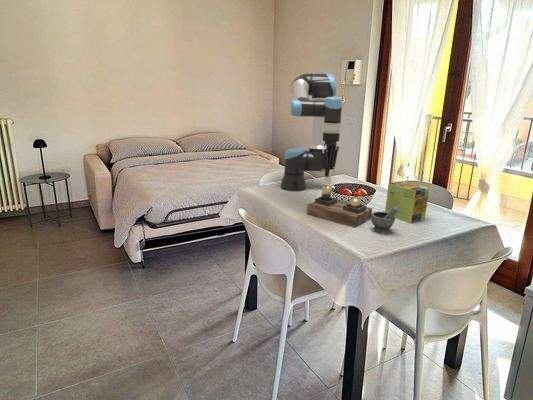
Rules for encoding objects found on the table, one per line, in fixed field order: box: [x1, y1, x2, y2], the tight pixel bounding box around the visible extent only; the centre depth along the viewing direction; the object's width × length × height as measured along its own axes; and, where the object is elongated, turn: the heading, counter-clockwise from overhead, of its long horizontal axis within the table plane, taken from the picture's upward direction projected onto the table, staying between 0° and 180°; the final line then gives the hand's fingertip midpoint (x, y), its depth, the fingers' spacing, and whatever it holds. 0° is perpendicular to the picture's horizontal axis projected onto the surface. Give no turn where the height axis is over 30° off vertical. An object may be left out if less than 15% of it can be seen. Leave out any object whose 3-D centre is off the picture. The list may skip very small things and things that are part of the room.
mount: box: [306, 195, 373, 228], centre depth 177 cm, size 16×25×7 cm, turn 50°
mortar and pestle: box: [370, 206, 399, 234], centre depth 160 cm, size 11×9×12 cm
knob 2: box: [349, 197, 361, 209], centre depth 171 cm, size 4×4×5 cm
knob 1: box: [321, 184, 333, 198], centre depth 179 cm, size 4×4×5 cm
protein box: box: [384, 180, 431, 224], centre depth 178 cm, size 10×15×16 cm
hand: (327, 182), depth 178 cm, fingers closed
